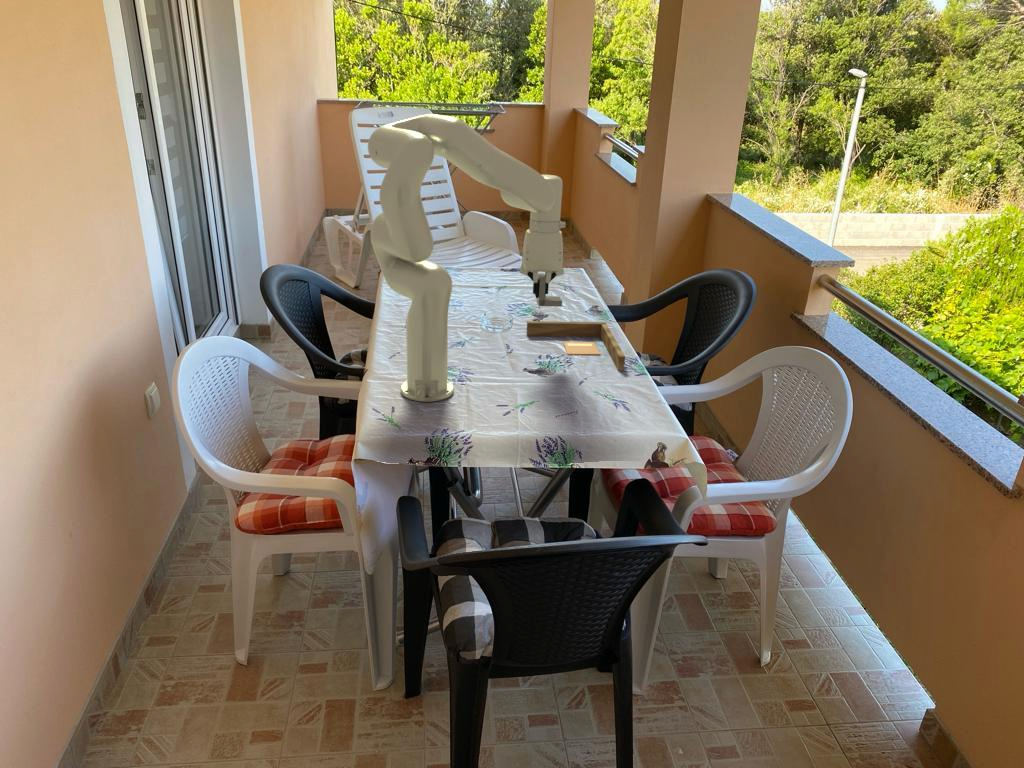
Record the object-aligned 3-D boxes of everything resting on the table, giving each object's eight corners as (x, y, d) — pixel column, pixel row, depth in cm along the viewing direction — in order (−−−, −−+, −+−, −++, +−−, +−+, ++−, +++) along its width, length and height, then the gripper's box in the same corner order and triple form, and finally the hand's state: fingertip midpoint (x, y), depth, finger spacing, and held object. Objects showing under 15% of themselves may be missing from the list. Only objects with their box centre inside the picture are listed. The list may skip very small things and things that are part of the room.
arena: (623, 370, 194) (625, 356, 192) (536, 370, 192) (537, 355, 190) (604, 335, 218) (605, 322, 216) (526, 334, 216) (527, 321, 214)
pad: (599, 355, 203) (600, 353, 203) (567, 354, 202) (567, 353, 202) (594, 343, 211) (594, 341, 211) (562, 342, 211) (562, 341, 210)
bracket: (536, 301, 196) (537, 273, 194) (558, 302, 197) (560, 273, 194) (538, 306, 190) (540, 277, 188) (561, 306, 191) (563, 277, 189)
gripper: (573, 223, 190) (567, 293, 197) (512, 222, 189) (509, 291, 196) (577, 230, 183) (571, 301, 190) (514, 228, 182) (511, 300, 189)
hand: (540, 296), depth 193 cm, fingers closed on bracket, 1 cm apart
